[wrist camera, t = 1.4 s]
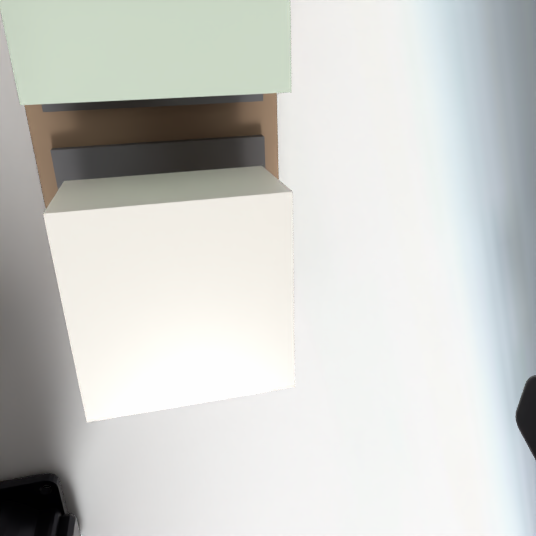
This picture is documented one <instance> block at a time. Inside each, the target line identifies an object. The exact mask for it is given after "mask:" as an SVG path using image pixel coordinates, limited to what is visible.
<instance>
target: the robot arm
mask: <svg viewBox="0 0 536 536" xmlns="http://www.w3.org/2000/svg"><path fill="white" fill-rule="evenodd" d="M516 422H517V426H518V428H519V430H520V432H521V434H522V436H523V437H524V439H525V441H526V443H527V445H528V447H529V449H530V451H531V452H532V454H533V456H534V458H535V460H536V375H534V376H531V377H530V378H529V379H528V380H527V381H526V383H525V386H524V389H523V392H522V395H521V398H520V401H519V404H518V407H517V410H516ZM44 485H49V486H51V487H43V486H44ZM0 536H81V534H80V530H79V526H78V522H77V518H76V516H74V515H73V514H72V513H69V514H68V512H67V508H66V504H65V500H64V496H63V492H62V488H61V484H60V480H59V478H58V477H57V476H56V475H54V474H41V475H35V476H30V477H25V478H19V479H14V480H8V481H3V482H0Z"/></svg>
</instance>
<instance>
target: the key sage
mask: <svg viewBox="0 0 536 536" xmlns="http://www.w3.org/2000/svg"><path fill="white" fill-rule="evenodd" d="M0 11H1V16H2V21H3V26H4V30H5V35H6V40H7V45H8V49H9V54H10V59H11V64H12V69H13V73H14V78H15V83H16V88H17V92H18V97H19V102H20V105H36V104H57V103H78V102H99V101H120V100H141V99H162V98H183V97H204V96H225V95H246V94H267V93H288V92H291V14H290V0H0Z"/></svg>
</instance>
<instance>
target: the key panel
mask: <svg viewBox="0 0 536 536" xmlns="http://www.w3.org/2000/svg"><path fill="white" fill-rule="evenodd" d="M25 110H26V115H27V120H28V125H29V130H30V134H31V139H32V144H33V149H34V154H35V159H36V164H37V168H38V173H39V178H40V183H41V188H42V193H43V197H44V202H45V207H46V208H47V207H48V205H49V204H50V202H51V201H52V199H53V197H54V196H55V194H56V193H57V191H58V190H59V188H60V187H61V185H62V183H63V182H64V181H70V180H83V179H96V178H109V177H122V176H135V175H148V174H161V173H174V172H187V171H200V170H213V169H226V168H239V167H252V166H263V167H264V168H265V169H266V170H268V171H269V172H270V173H271V174H272V175H273V176H275V177H276V178H277V179H278V180H279V178H278V135H277V93H267V94H246V95H225V96H204V97H183V98H162V99H141V100H120V101H99V102H78V103H57V104H36V105H25Z"/></svg>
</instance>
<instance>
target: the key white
mask: <svg viewBox="0 0 536 536" xmlns="http://www.w3.org/2000/svg"><path fill="white" fill-rule="evenodd" d="M43 216H44V221H45V226H46V231H47V235H48V240H49V245H50V250H51V254H52V259H53V264H54V269H55V274H56V278H57V283H58V288H59V293H60V297H61V302H62V307H63V312H64V316H65V321H66V326H67V331H68V336H69V340H70V345H71V350H72V355H73V359H74V364H75V369H76V374H77V378H78V383H79V388H80V393H81V397H82V402H83V407H84V412H85V417H86V421H87V422H93V421H99V420H105V419H111V418H117V417H123V416H129V415H135V414H140V413H146V412H152V411H158V410H164V409H170V408H176V407H182V406H188V405H193V404H199V403H205V402H211V401H217V400H223V399H229V398H235V397H241V396H247V395H252V394H258V393H264V392H270V391H276V390H282V389H288V388H294V387H295V340H294V259H293V192H292V191H291V190H290V189H289V188H288V187H287V186H285V185H284V184H283V183H282V182H281V181H279V180H278V179H277V178H276V177H275V176H273V175H272V174H271V173H270V172H269V171H268V170H266V169H265V168H264V167H263V166H252V167H239V168H226V169H213V170H200V171H187V172H174V173H161V174H148V175H135V176H122V177H109V178H96V179H83V180H70V181H64V182H63V183H62V185H61V187H60V188H59V190H58V191H57V193H56V194H55V196H54V197H53V199H52V201H51V202H50V204H49V205H48V207H47V208H46V210H45V211H44V213H43Z"/></svg>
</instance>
